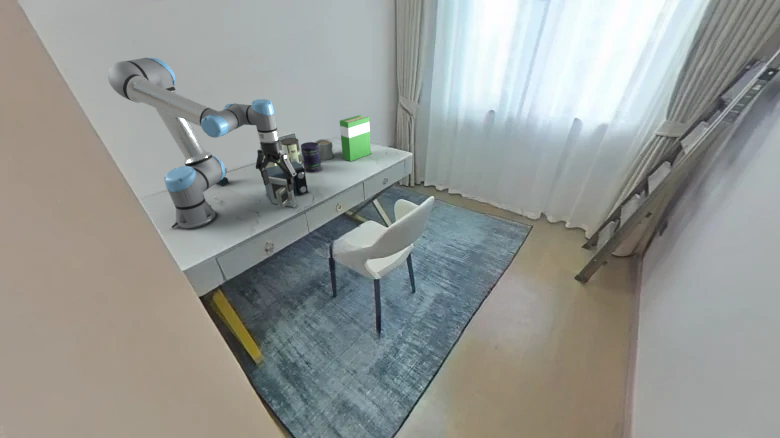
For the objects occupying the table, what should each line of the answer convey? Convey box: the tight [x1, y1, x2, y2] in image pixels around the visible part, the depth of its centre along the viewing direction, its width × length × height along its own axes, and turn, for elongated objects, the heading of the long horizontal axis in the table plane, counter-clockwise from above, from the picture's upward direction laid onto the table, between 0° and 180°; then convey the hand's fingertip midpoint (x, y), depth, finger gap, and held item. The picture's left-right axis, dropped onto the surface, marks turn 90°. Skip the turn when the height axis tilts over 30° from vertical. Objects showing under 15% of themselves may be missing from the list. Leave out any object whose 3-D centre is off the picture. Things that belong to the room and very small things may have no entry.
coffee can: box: [280, 137, 303, 165], centre depth 192 cm, size 10×10×14 cm
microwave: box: [264, 161, 309, 200], centre depth 159 cm, size 11×18×14 cm, turn 125°
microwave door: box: [268, 176, 297, 209], centre depth 147 cm, size 8×13×14 cm, turn 71°
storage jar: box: [300, 141, 322, 174], centre depth 184 cm, size 10×10×15 cm
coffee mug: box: [315, 138, 334, 161], centre depth 203 cm, size 13×10×10 cm
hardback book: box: [339, 114, 372, 162], centre depth 199 cm, size 18×7×24 cm, turn 138°
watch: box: [216, 167, 230, 187], centre depth 169 cm, size 6×8×11 cm
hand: (278, 187), depth 139 cm, fingers open, 13 cm apart
